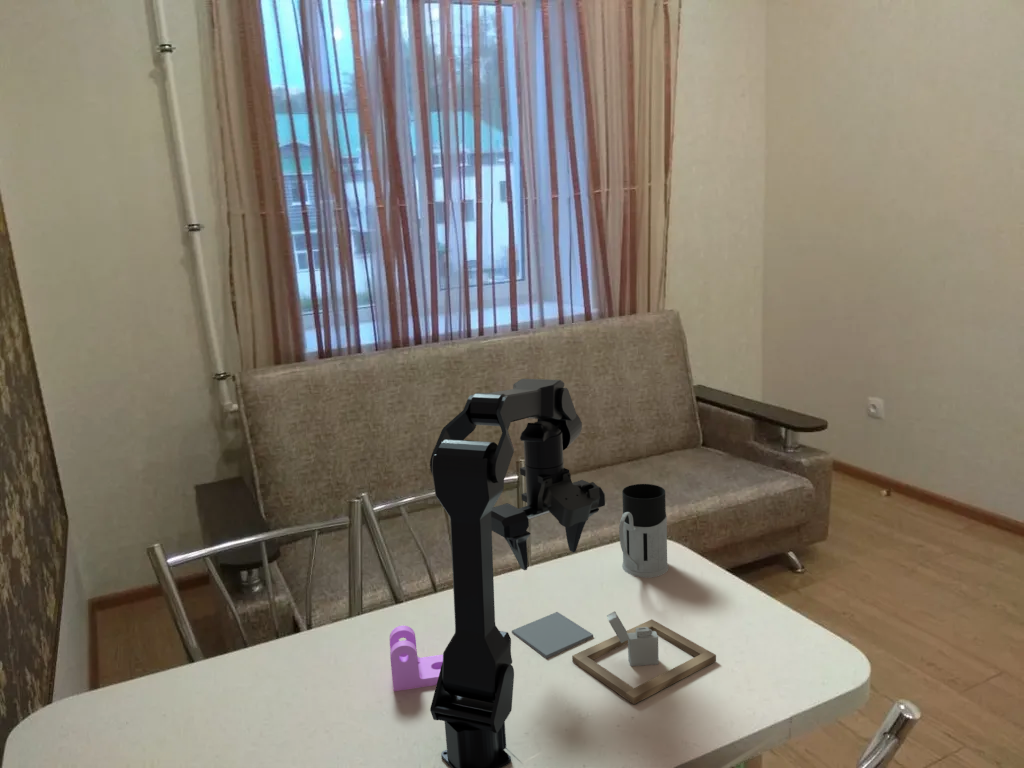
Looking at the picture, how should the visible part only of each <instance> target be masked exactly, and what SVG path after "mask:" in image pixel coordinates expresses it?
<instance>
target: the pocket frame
mask: <svg viewBox="0 0 1024 768" xmlns="http://www.w3.org/2000/svg"><path fill="white" fill-rule="evenodd" d="M639 627H648V628H649V629H651V630H652V631H656V633H657V635H658V637H661V638H662V639H664V640H666V641H667V642H668V643H670V644H672V645H674V647H675V646H676V647H677V648H679V649H681V650H682V651H684V652H685V653H687V654H689V655H691V656H692V658H690V659H688V660H687V661H685V662H683V663H680V664H679V665H677V666H675V667H673V668H671V669H669V670H667V671H665V672H663V673H661V674H659V675H657V676H655V677H654V678H651V679H649V680H648V681H646V682H644V683H641V684H640V685H638V686H635V687H633V686H632V685H630V684H629V683H627V682H626V681H624V680H623V679H621V678H620V677H618V676H617V675H616V674H614V673H612V672H611V671H609V670H608V669H606V668H605V667H603V666H602V665H601V664H599V663H597V662H596V661H595V659H598V658H599V657H602V656H604V655H606V654H608V653H610V652H612V651H614V650H616V649H618V648H620V647H623V646H625V645H628V640H626V641H624V642H623V643H621V642H620V640H619V638H618V636H617V635H614V636H612V637H610V638H608V639H605V640H603V641H601V642H599V643H597V644H594V645H593V646H589V647H588V648H586V649H584V650H582V651H579V652H577V653H575V654H573V655H572V660H571V661H572V663H574V664H575V665H576V666H578V667H579V668H581V669H582V670H584V671H585V672H586V673H588V674H589V675H591V676H592V677H594V678H595V679H596V680H598V681H600V682H601V683H602V684H604V685H605V686H607V687H608V688H609V689H611V690H613V691H614V692H615V693H617V694H619V696H621V697H623V699H625V700H627V701H628V702H629V703H631V704H632V705H636V704H637V703H639V702H641V701H643V700H645V699H647V698H649V697H651V696H652V695H655V694H656V693H658V692H660V691H662V690H664V689H666V688H668V687H671V686H672V685H673V684H675V683H678V682H679V681H682V680H683V679H685V678H686V677H689V676H690V675H693V674H695V673H696V672H698V671H700V670H702V669H704V668H706V667H708V666H710V665H711V664H713V663H715V662H717V654H715V653H713V652H712V651H709V650H708V649H706V648H705V647H703V646H700V645H699V644H697V643H695V642H694V641H692V640H690V639H688V638H687V637H685V636H683V635H681V634H680V633H678V632H676V631H674V630H672V629H670V628H669V627H667V626H665V625H663V624H662V623H659V622H658V621H656V620H654V619H652V618H651V619H649V620H647V621H646V622H645V621H644V622H642V623H641V624H638V625H636V626H634V627H632V628H629V629H628V630H627V629H626V631H627V633H636V628H639Z"/></svg>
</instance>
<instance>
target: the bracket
mask: <svg viewBox="0 0 1024 768" xmlns="http://www.w3.org/2000/svg"><path fill="white" fill-rule="evenodd" d="M402 638H404V639H405V640H401V639H402ZM416 638H417V637H416V633H415V631H414V629H413V628H412V627H410V626H408V625H404V624H403V625H398V626H396V627H394V628H393V629H392V630H391V632H390V634H389V647H390V648H389V649H390V650H389V653H390V654H389V655H390V657H389V658H390V670H391V677H392V689H393V692H398V691H404V690H412V689H419V688H426V687H432V686H436V685H437V681H438V677H439V674H440V670H441V666H442V663H443V654H437V655H429V656H423V657H419V656H418V651H417V650H418V649H417V639H416Z"/></svg>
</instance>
